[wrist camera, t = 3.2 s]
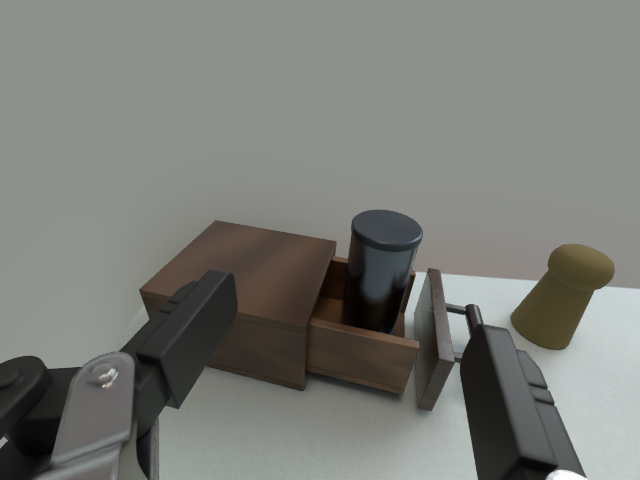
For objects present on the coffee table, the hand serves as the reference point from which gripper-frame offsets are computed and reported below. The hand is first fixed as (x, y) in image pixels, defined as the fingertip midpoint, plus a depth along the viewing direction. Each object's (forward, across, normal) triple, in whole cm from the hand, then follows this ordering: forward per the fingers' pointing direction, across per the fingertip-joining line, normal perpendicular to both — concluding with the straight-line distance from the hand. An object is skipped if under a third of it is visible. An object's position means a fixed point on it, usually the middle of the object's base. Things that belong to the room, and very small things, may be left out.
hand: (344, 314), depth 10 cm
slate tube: (+14, -1, +17) cm, 23 cm away
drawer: (+15, -3, +18) cm, 24 cm away
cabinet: (+14, +11, +19) cm, 26 cm away
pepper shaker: (+23, -21, +20) cm, 37 cm away
